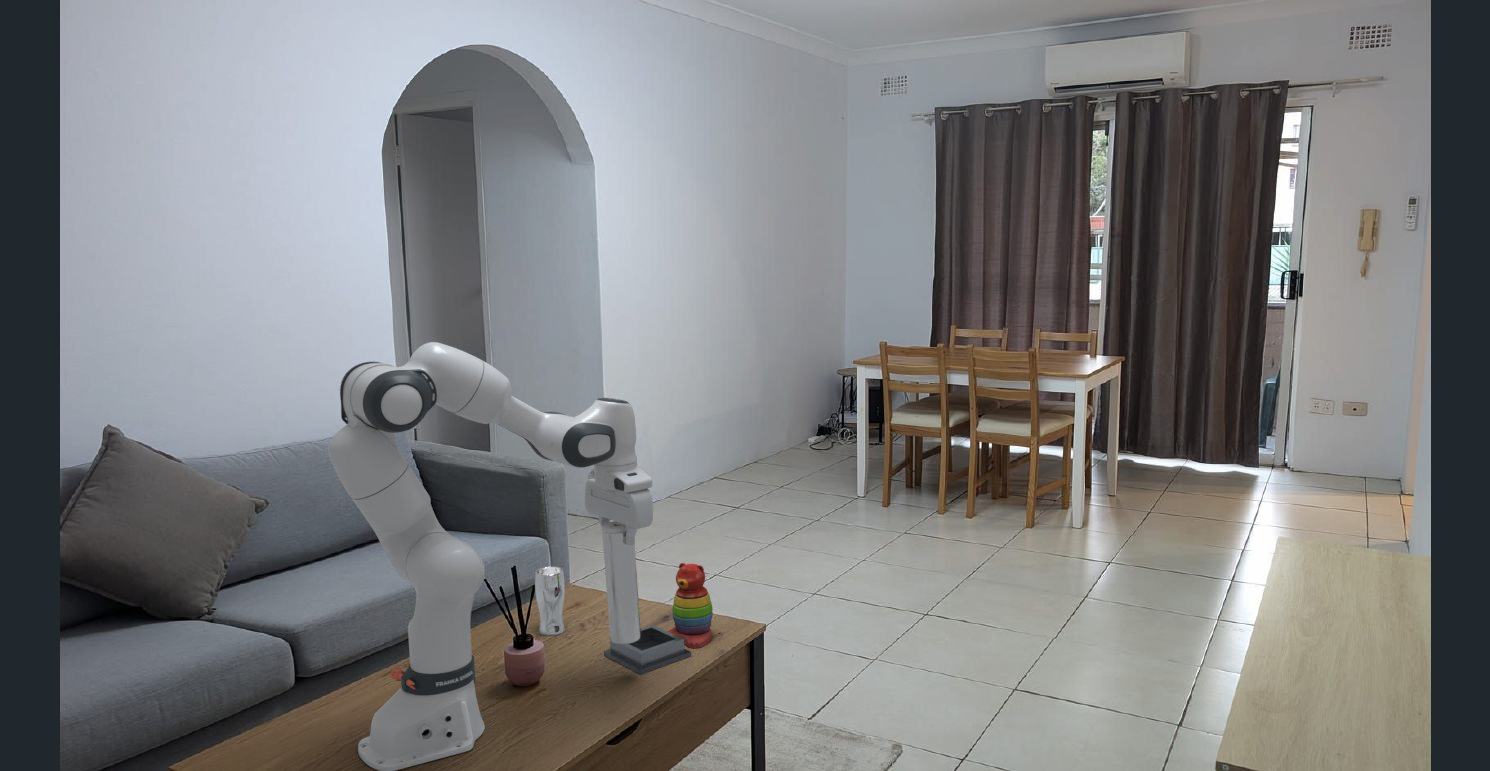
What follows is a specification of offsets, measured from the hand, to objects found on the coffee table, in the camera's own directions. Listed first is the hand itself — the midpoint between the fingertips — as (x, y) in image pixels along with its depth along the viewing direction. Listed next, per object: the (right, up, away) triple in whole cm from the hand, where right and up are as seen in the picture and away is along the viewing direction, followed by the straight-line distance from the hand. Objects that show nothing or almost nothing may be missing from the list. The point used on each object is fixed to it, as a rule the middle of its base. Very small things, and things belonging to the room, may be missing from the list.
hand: (618, 540), depth 202 cm
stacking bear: (+14, -27, +26) cm, 40 cm away
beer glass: (-20, -27, +31) cm, 46 cm away
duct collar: (+4, -28, +16) cm, 33 cm away
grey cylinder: (+1, -21, +3) cm, 22 cm away
